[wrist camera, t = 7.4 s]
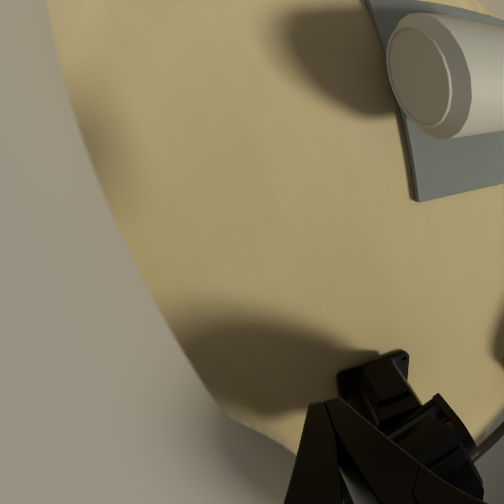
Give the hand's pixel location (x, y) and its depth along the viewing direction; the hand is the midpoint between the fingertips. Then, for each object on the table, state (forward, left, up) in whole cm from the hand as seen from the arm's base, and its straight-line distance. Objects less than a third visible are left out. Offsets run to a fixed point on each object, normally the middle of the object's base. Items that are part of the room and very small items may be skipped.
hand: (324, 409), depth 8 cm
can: (+9, -9, -9) cm, 16 cm away
